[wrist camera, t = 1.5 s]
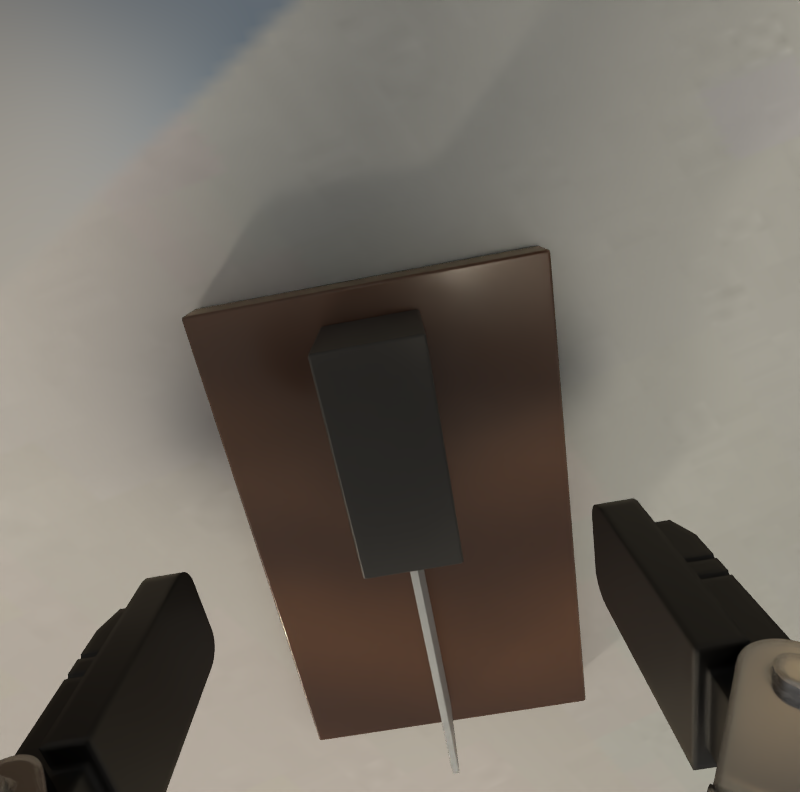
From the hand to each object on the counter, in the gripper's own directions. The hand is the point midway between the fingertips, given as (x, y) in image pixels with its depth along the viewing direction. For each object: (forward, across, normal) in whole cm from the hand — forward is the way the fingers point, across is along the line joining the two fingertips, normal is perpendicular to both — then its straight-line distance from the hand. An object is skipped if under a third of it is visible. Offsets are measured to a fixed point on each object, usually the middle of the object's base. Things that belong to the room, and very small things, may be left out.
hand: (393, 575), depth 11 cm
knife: (+7, 0, +4) cm, 8 cm away
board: (+8, 0, +4) cm, 10 cm away
